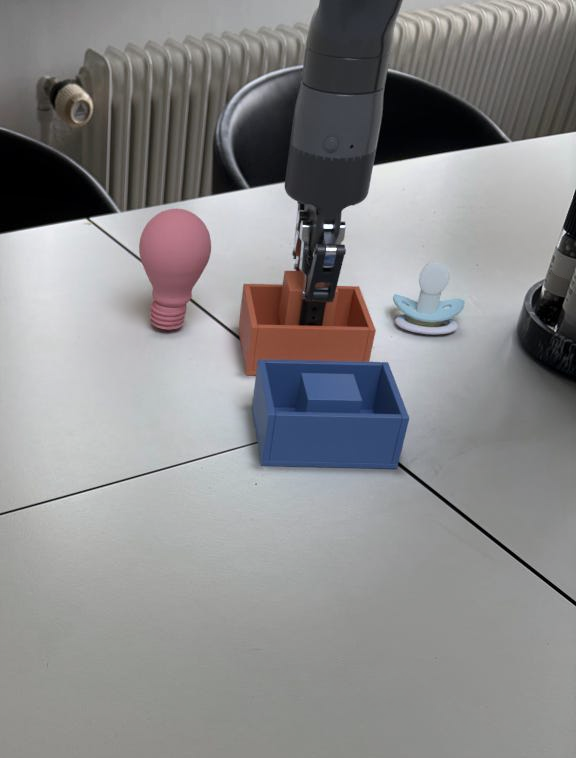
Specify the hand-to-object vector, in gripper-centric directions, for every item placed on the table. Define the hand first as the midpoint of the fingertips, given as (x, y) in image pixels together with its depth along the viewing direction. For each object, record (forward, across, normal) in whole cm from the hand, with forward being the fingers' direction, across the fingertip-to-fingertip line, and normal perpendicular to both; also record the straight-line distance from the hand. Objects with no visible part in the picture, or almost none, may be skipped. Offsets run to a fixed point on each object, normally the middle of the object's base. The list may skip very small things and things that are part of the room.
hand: (305, 322), depth 103 cm
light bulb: (+4, +5, +13) cm, 14 cm away
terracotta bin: (+3, 0, 0) cm, 3 cm away
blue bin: (+3, -16, 0) cm, 16 cm away
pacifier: (+4, +7, -14) cm, 16 cm away
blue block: (+3, -16, 0) cm, 16 cm away
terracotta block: (0, 0, 0) cm, 0 cm away
